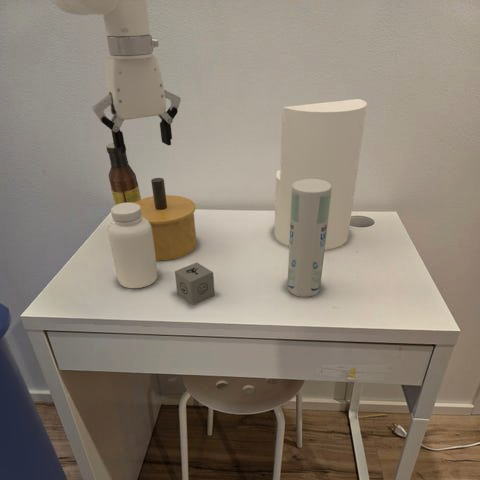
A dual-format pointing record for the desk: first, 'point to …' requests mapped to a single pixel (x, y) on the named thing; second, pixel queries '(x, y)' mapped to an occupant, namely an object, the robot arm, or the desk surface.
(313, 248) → the spray can
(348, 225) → the cylinder
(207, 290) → the dice cube
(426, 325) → the desk surface
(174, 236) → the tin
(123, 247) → the pill bottle
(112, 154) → the sauce bottle
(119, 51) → the robot arm
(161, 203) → the tan wooden disc
